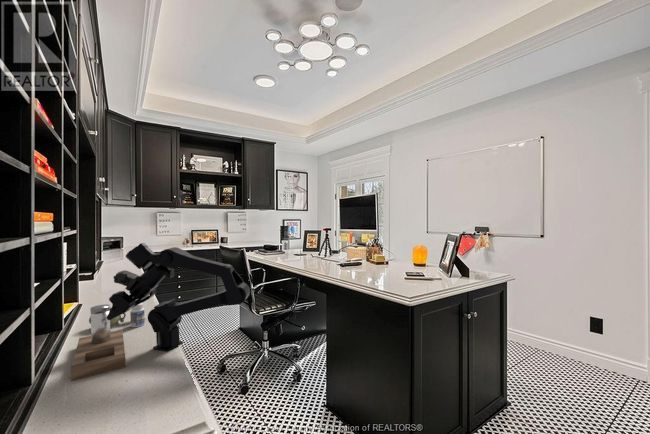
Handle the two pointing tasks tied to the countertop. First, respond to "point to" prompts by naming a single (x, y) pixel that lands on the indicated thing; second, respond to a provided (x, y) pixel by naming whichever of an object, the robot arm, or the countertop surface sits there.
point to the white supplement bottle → (145, 308)
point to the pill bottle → (137, 316)
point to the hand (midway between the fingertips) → (116, 314)
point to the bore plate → (98, 356)
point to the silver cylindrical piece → (100, 324)
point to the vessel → (114, 320)
